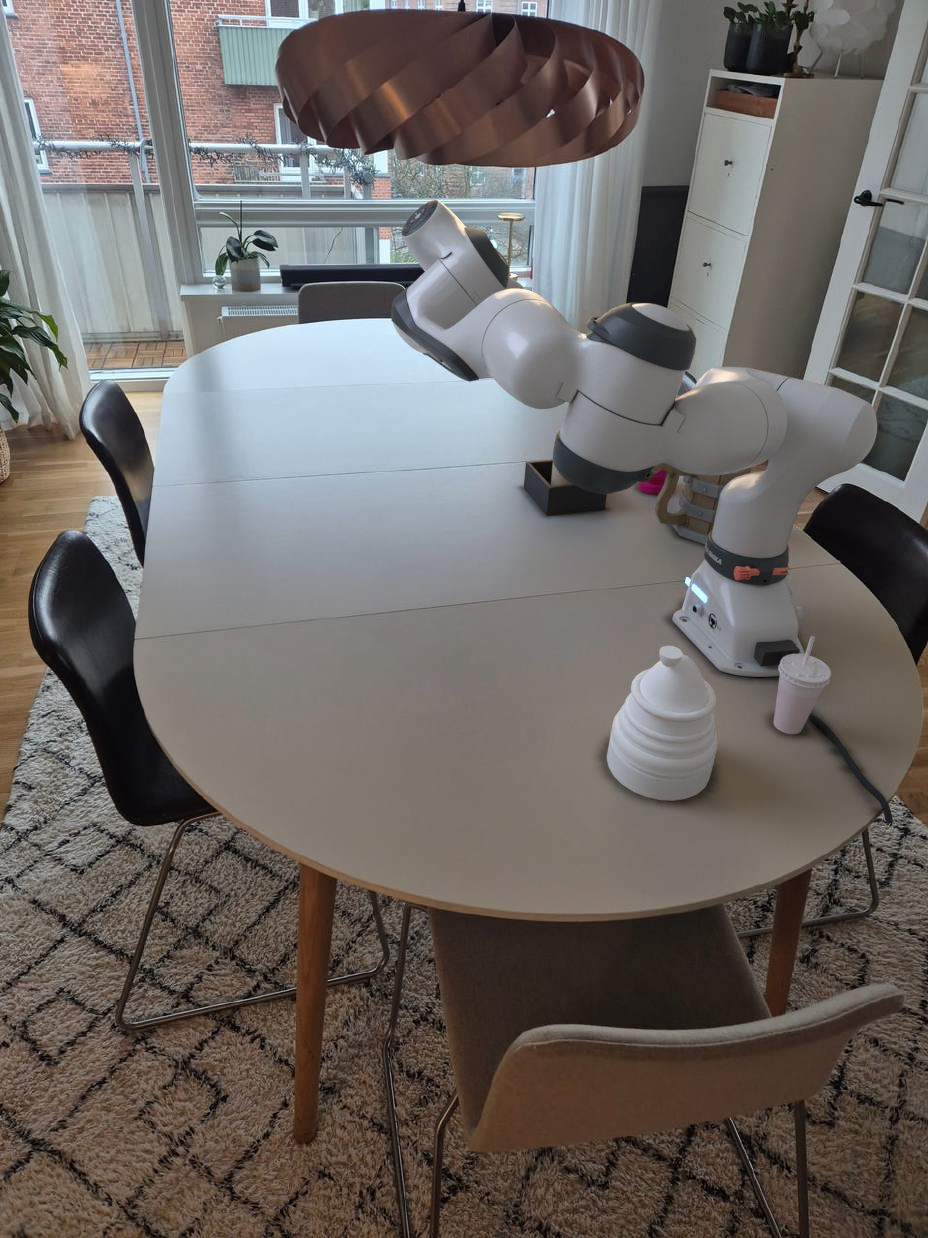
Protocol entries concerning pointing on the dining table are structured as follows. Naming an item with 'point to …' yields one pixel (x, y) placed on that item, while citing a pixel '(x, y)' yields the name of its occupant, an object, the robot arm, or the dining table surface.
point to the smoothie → (799, 689)
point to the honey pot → (665, 731)
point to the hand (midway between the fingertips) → (523, 344)
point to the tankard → (692, 501)
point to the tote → (558, 492)
